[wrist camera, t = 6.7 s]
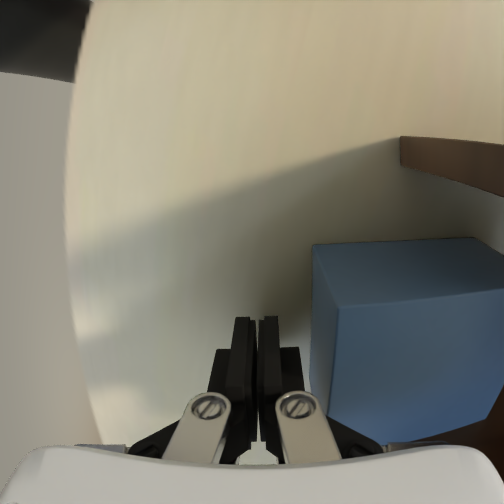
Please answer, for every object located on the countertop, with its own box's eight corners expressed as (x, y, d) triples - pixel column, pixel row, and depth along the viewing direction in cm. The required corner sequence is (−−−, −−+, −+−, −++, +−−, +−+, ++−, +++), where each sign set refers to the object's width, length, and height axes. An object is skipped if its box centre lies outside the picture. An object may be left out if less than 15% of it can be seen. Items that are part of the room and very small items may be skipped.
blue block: (308, 376, 15) (320, 456, 10) (312, 244, 13) (337, 306, 8) (446, 357, 15) (486, 419, 10) (474, 236, 12) (542, 281, 8)
